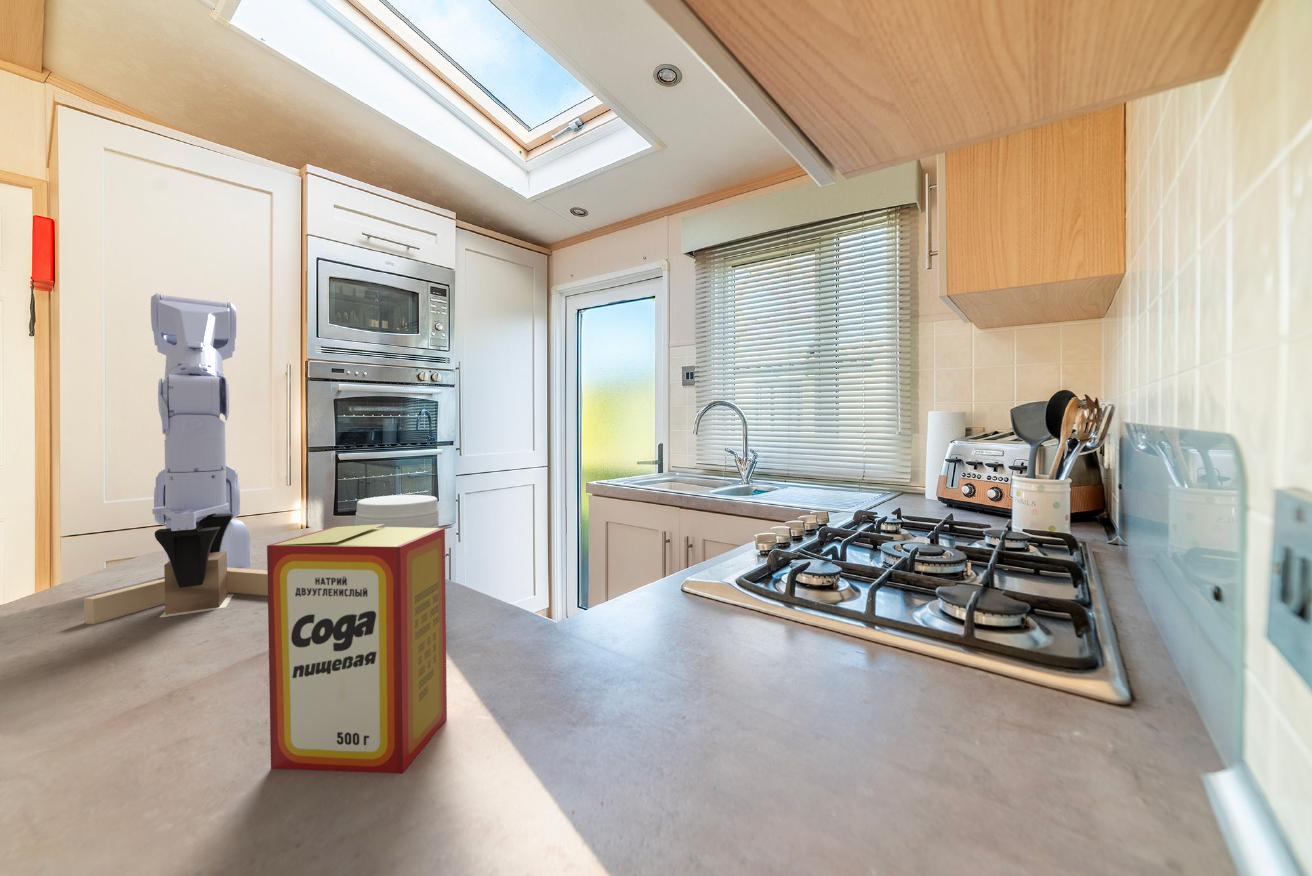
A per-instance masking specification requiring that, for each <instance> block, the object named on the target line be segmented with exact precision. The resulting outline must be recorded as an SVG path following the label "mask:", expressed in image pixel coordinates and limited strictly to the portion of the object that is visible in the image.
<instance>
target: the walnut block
mask: <svg viewBox="0 0 1312 876" xmlns="http://www.w3.org/2000/svg"><path fill="white" fill-rule="evenodd" d="M163 566H164V567H163V569H164V571H163V572H164V578H165V604H164V608H165V611H164V612H165V615H166V614H173V613H181V612H188V611H195V610H202V609H210V608H217V607H220V605H221V604H222V603H223V601H224V600H225V599H226V598H227V596H228V595H229V592H228V587H227V551H224V552H213V553H209V557H208V564H207V570H206V575H205V579H204V582H203V584H202V585H198V586H190V587H182V588H179V586H178V583H177V581H176V578H175V575H174V571H173V568H172V565H171V562H170V561H169V562H168V561H167V563H165V564H164V565H163Z"/></svg>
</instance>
